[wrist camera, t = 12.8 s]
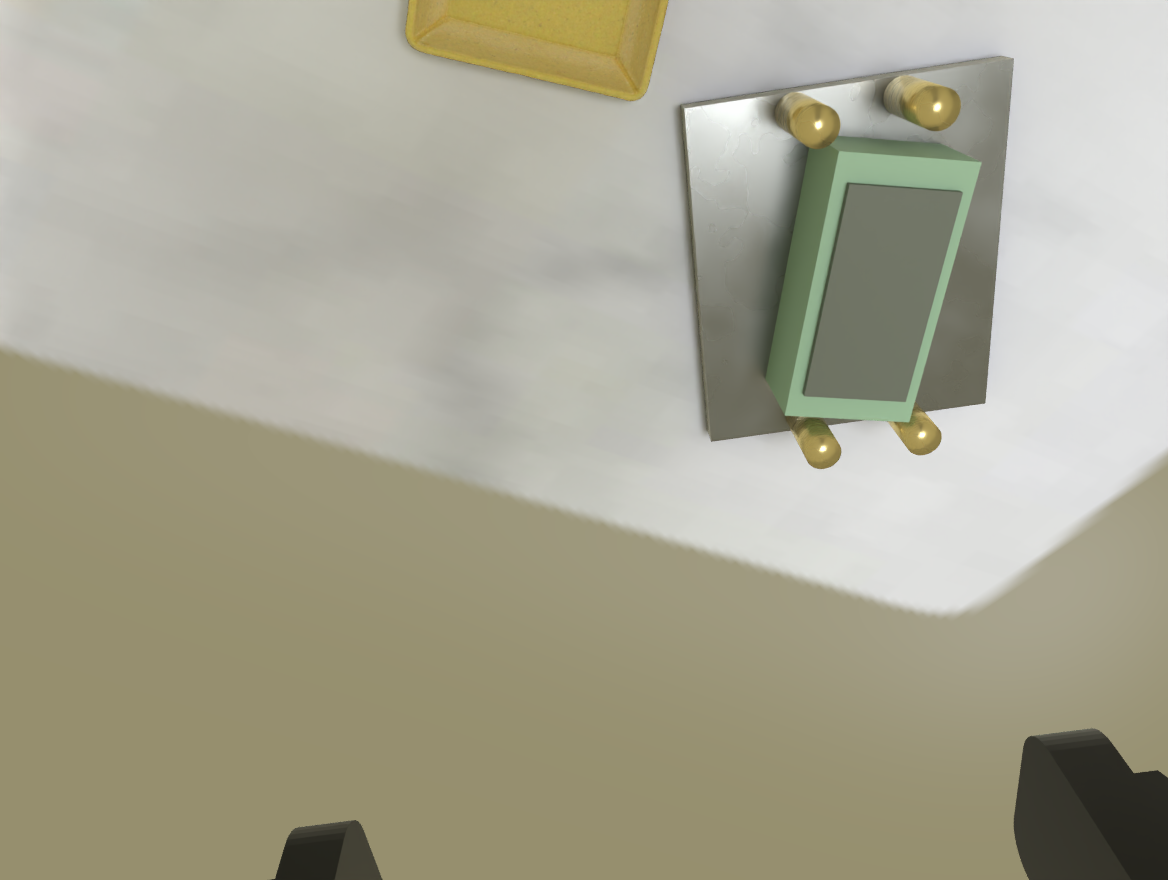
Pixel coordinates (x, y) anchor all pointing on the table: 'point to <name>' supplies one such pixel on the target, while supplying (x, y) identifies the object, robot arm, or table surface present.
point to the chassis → (767, 217)
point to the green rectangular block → (867, 276)
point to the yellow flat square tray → (547, 39)
